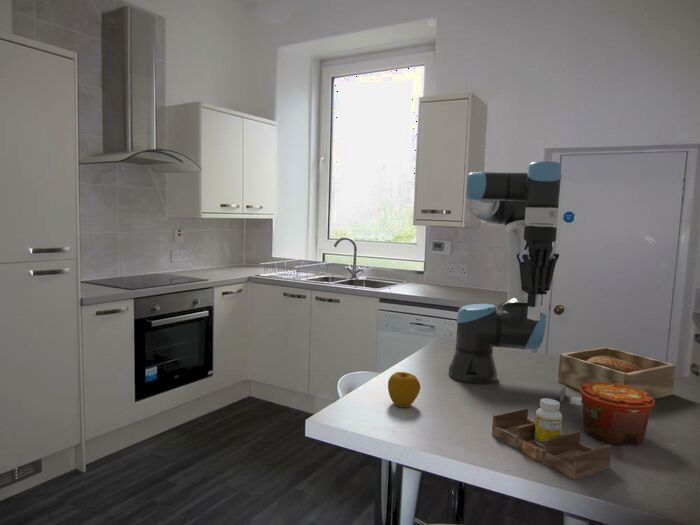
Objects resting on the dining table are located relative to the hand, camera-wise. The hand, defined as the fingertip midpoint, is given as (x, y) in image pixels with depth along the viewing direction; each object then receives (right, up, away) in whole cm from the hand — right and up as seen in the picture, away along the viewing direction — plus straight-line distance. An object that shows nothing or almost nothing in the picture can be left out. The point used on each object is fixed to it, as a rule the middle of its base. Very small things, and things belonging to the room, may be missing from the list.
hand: (533, 319), depth 124 cm
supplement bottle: (-3, -26, -15) cm, 30 cm away
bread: (+35, -25, +29) cm, 52 cm away
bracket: (+19, -26, +16) cm, 36 cm away
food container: (+17, -27, -6) cm, 33 cm away
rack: (-3, -27, -15) cm, 31 cm away
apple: (-32, -24, +8) cm, 41 cm away
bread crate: (+36, -25, +29) cm, 52 cm away
